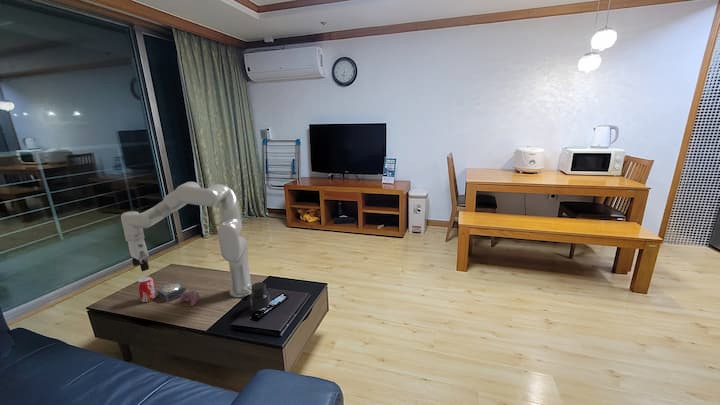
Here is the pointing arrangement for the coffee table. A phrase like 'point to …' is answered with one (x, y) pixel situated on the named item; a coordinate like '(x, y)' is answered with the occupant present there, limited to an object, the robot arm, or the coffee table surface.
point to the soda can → (146, 289)
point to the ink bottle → (259, 296)
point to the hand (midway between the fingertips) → (141, 267)
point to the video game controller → (189, 297)
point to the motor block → (171, 291)
